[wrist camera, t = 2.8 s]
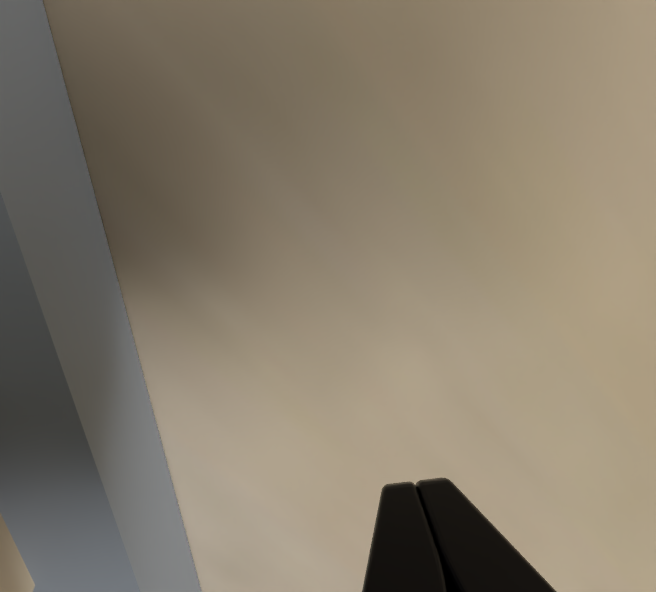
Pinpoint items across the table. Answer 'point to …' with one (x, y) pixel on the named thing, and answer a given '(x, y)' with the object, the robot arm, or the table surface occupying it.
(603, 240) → the table surface
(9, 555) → the birch block
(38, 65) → the grey piece
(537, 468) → the table surface
